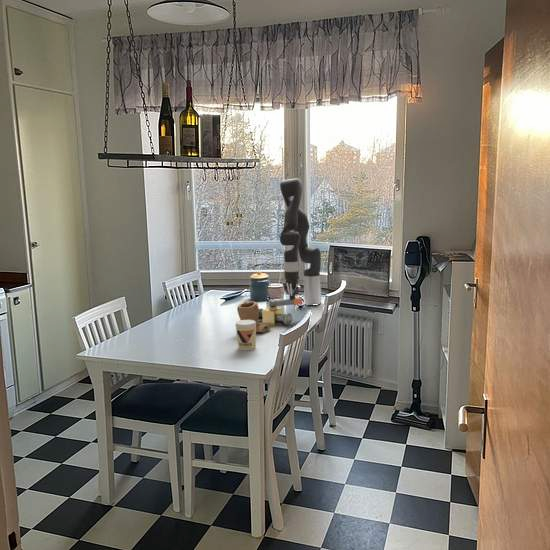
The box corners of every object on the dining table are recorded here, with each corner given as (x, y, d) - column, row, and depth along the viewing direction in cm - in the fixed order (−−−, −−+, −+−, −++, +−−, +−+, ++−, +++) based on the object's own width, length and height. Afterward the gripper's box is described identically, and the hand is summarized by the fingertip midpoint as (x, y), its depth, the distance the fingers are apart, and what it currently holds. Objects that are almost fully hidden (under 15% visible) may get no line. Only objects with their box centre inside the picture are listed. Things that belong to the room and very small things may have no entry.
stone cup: (234, 334, 282) (232, 304, 279) (244, 327, 293) (242, 298, 290) (262, 336, 277) (261, 306, 274) (271, 329, 288) (270, 300, 285)
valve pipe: (254, 321, 303) (253, 305, 301) (264, 318, 309) (263, 302, 307) (283, 327, 290) (283, 310, 288) (293, 323, 296) (293, 307, 294)
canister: (260, 302, 345) (259, 273, 342) (245, 299, 354) (244, 271, 350) (275, 298, 354) (274, 270, 351) (260, 295, 363) (259, 268, 360)
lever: (269, 307, 296) (269, 301, 295) (268, 305, 299) (268, 300, 299) (302, 304, 299) (302, 298, 298) (300, 302, 302) (300, 297, 302)
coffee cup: (234, 351, 256) (233, 325, 254) (239, 344, 265) (237, 319, 263) (255, 351, 255) (254, 324, 253) (259, 344, 264) (257, 319, 262)
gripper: (277, 269, 303) (279, 301, 306) (294, 272, 293) (295, 305, 296) (288, 267, 307) (289, 298, 311) (305, 270, 297) (306, 302, 301)
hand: (292, 302), depth 303 cm, fingers closed
